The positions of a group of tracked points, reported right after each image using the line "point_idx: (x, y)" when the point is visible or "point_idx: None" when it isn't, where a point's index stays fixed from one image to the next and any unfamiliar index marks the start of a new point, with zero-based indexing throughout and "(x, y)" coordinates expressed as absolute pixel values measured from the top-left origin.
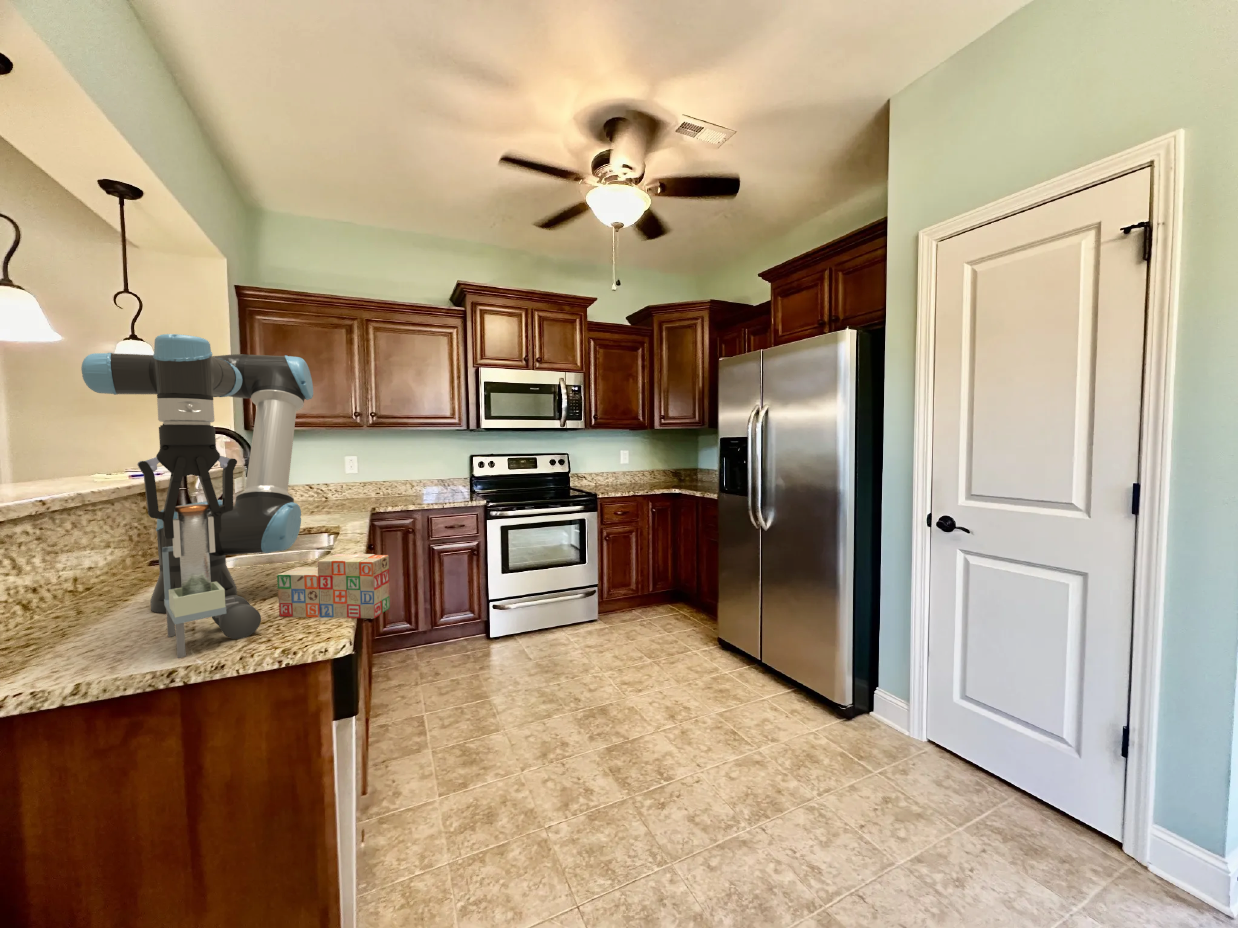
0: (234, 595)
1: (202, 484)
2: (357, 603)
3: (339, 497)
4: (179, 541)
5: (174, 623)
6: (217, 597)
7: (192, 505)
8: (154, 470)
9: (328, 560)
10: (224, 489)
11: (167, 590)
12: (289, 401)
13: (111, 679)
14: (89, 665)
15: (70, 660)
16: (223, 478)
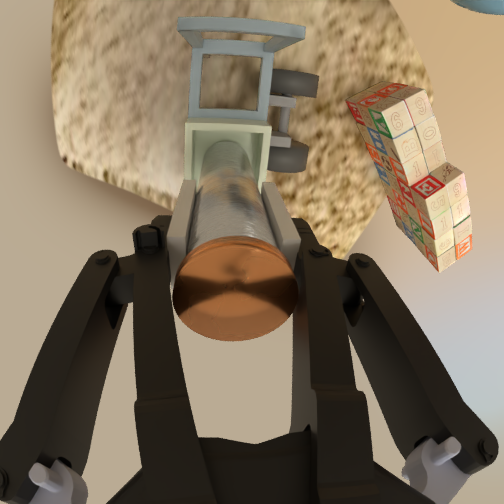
0: (304, 75)
1: (298, 393)
2: (401, 217)
3: None
4: None
5: None
6: None
7: (241, 285)
8: (76, 476)
9: (432, 212)
10: (369, 360)
11: (196, 46)
12: None
13: (132, 186)
14: (111, 109)
15: (95, 69)
16: (400, 394)
